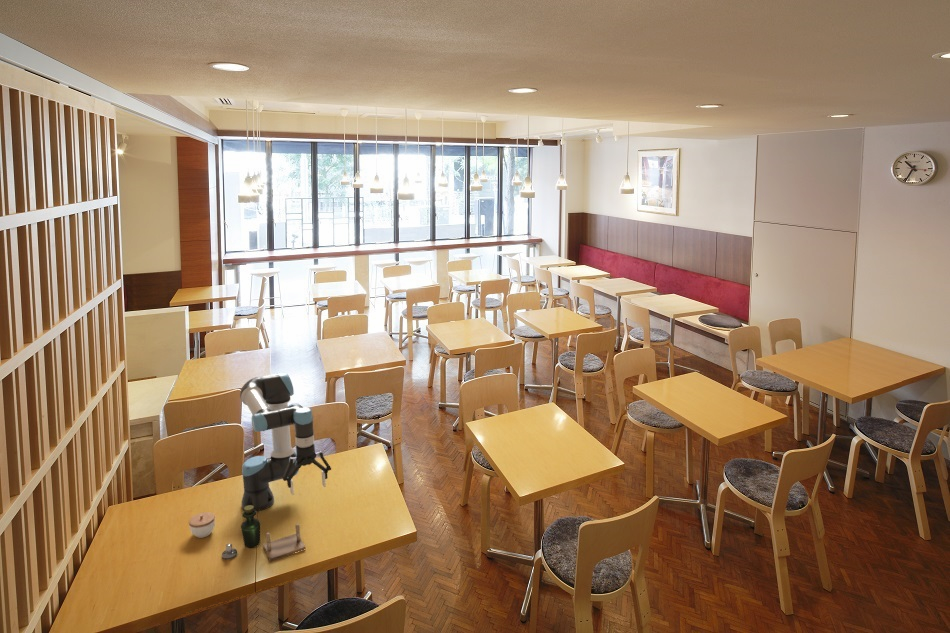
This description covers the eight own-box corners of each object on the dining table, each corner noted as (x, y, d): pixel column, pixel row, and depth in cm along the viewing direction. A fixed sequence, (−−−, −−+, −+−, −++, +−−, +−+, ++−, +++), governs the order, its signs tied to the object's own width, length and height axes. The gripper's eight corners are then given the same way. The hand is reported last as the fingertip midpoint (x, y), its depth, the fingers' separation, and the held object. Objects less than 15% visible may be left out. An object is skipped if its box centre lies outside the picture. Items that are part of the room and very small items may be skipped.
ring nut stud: (221, 553, 251) (219, 543, 250) (235, 549, 254) (234, 539, 253) (223, 561, 246) (222, 550, 245) (238, 556, 249) (237, 546, 248)
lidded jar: (191, 543, 258) (188, 524, 256) (190, 530, 267) (187, 512, 265) (217, 536, 263) (215, 518, 261) (215, 524, 272) (213, 506, 270)
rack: (263, 547, 255) (261, 527, 253) (297, 536, 263) (296, 517, 261) (270, 561, 246) (268, 541, 243) (305, 549, 253) (304, 530, 251)
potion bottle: (247, 538, 262) (243, 502, 257) (265, 538, 261) (261, 502, 257) (239, 549, 254) (235, 512, 250) (257, 549, 253) (254, 512, 249)
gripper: (276, 454, 237) (280, 501, 242) (336, 441, 248) (339, 486, 253) (272, 446, 243) (276, 492, 248) (332, 434, 255) (334, 478, 260)
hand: (308, 489), depth 251 cm, fingers open, 13 cm apart
